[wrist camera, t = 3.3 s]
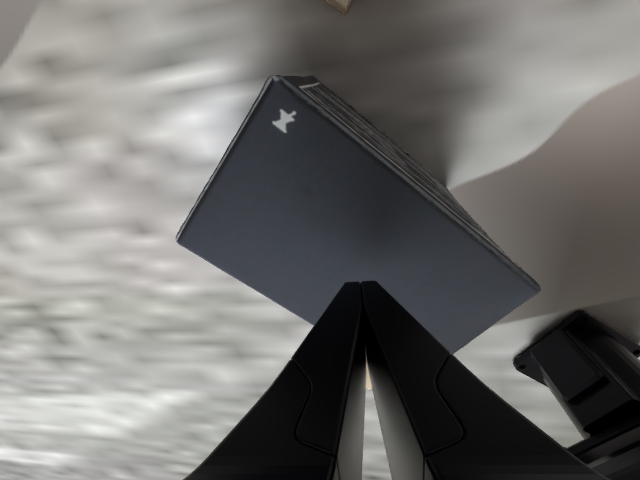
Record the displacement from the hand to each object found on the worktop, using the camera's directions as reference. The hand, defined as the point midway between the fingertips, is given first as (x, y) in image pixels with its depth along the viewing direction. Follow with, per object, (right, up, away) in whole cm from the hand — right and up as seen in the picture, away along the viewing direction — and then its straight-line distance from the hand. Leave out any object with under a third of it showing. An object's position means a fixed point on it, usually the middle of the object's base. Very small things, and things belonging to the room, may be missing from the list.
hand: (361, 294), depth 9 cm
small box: (+1, +5, +11) cm, 12 cm away
